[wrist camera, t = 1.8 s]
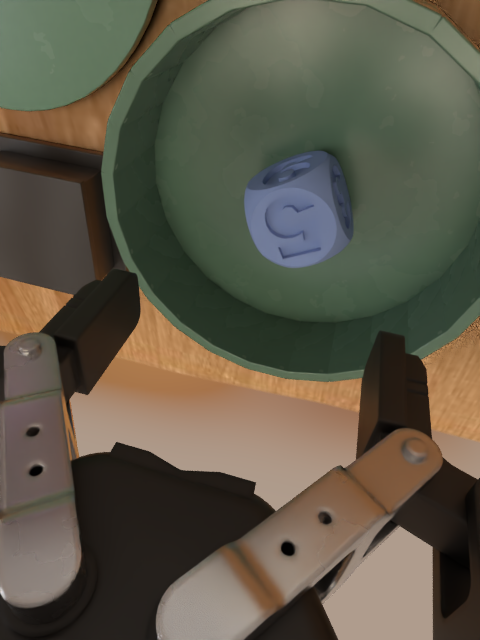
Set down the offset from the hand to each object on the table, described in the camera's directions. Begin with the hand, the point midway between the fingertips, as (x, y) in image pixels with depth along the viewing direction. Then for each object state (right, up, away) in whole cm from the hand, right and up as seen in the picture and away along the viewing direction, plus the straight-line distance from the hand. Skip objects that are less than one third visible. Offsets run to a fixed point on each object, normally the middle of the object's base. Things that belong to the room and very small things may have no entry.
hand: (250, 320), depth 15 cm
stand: (-11, +7, +13) cm, 18 cm away
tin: (+3, +7, +8) cm, 11 cm away
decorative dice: (+3, +7, +8) cm, 11 cm away
